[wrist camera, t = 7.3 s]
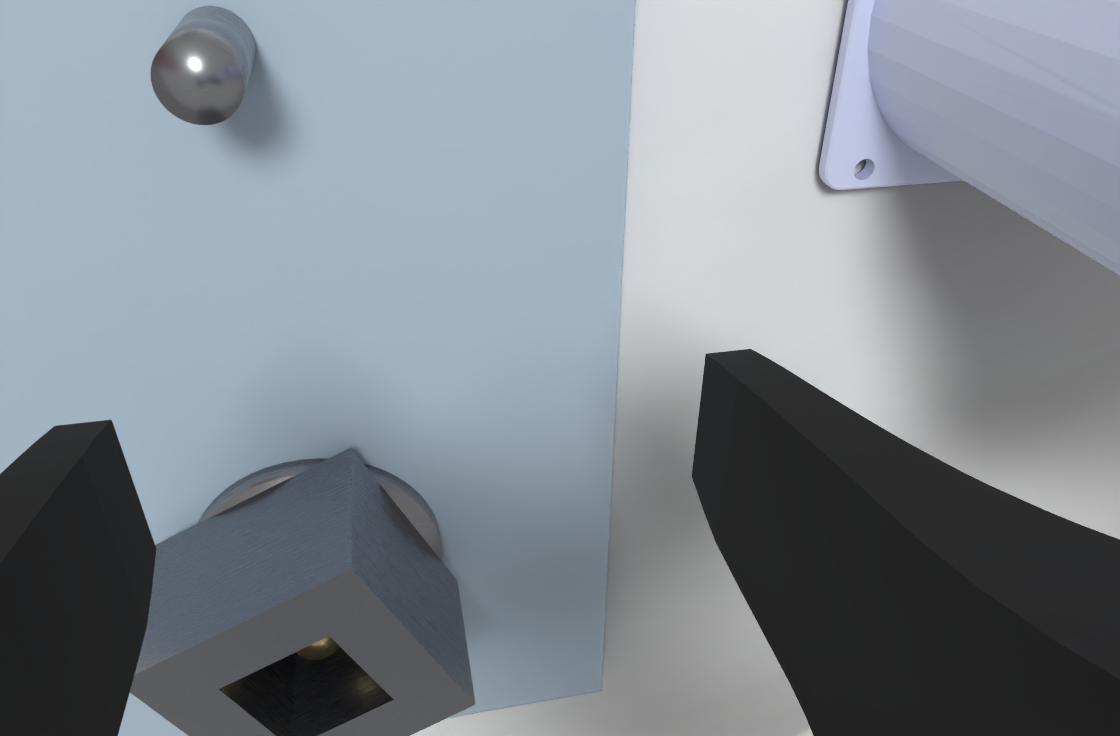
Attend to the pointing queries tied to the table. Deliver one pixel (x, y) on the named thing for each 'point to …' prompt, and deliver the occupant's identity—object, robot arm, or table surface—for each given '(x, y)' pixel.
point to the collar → (305, 616)
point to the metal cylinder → (204, 66)
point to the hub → (273, 475)
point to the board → (339, 280)
